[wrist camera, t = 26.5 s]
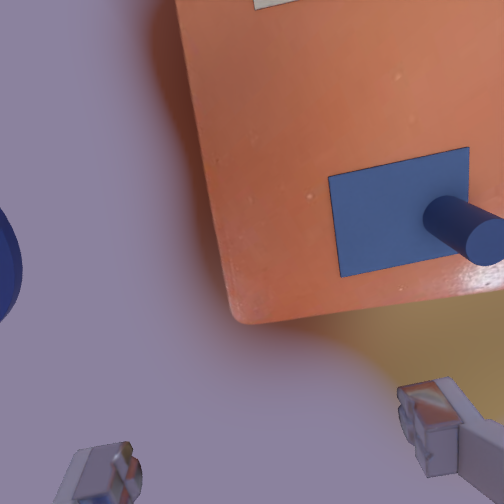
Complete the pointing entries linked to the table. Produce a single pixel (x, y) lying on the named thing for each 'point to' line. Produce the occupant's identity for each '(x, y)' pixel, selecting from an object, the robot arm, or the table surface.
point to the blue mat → (393, 210)
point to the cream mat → (269, 3)
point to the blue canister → (466, 229)
